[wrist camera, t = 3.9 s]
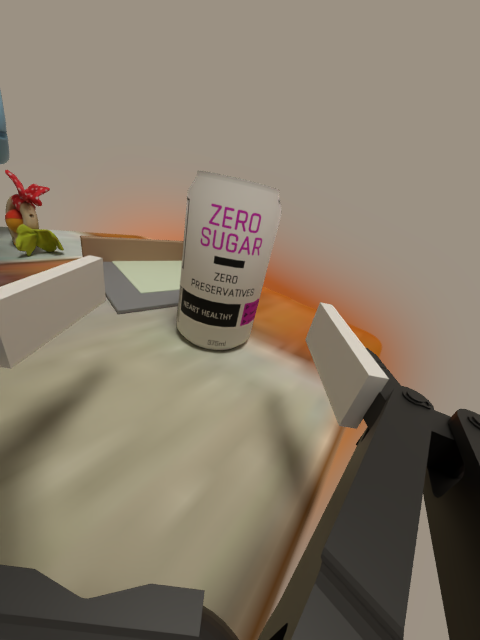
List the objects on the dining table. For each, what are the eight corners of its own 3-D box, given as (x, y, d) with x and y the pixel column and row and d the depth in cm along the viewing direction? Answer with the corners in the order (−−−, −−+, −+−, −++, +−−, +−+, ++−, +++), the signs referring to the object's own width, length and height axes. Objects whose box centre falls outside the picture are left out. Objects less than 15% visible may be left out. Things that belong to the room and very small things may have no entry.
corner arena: (83, 262, 37) (80, 235, 35) (185, 261, 48) (187, 241, 47) (118, 314, 26) (116, 279, 24) (240, 296, 37) (246, 272, 35)
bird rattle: (-1, 262, 36) (27, 253, 32) (-39, 181, 33) (-13, 159, 28) (45, 257, 41) (74, 249, 37) (16, 187, 38) (45, 169, 34)
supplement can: (225, 311, 32) (250, 186, 25) (262, 346, 26) (307, 196, 19) (166, 318, 27) (175, 166, 20) (194, 361, 21) (221, 171, 15)
